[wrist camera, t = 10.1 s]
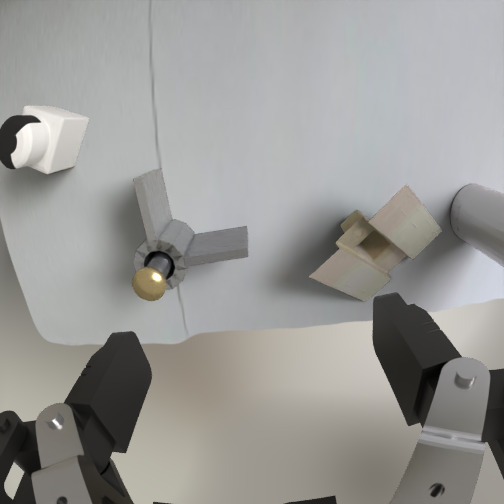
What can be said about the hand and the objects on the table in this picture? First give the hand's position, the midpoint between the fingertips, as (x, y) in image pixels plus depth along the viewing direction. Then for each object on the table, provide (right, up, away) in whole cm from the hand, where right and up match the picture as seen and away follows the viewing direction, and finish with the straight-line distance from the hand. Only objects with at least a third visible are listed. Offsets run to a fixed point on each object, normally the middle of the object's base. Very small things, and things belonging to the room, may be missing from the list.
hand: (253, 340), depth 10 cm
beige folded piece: (+17, +5, +32) cm, 37 cm away
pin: (-10, +4, +32) cm, 33 cm away
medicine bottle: (-26, +19, +26) cm, 41 cm away
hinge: (-8, +8, +30) cm, 32 cm away
